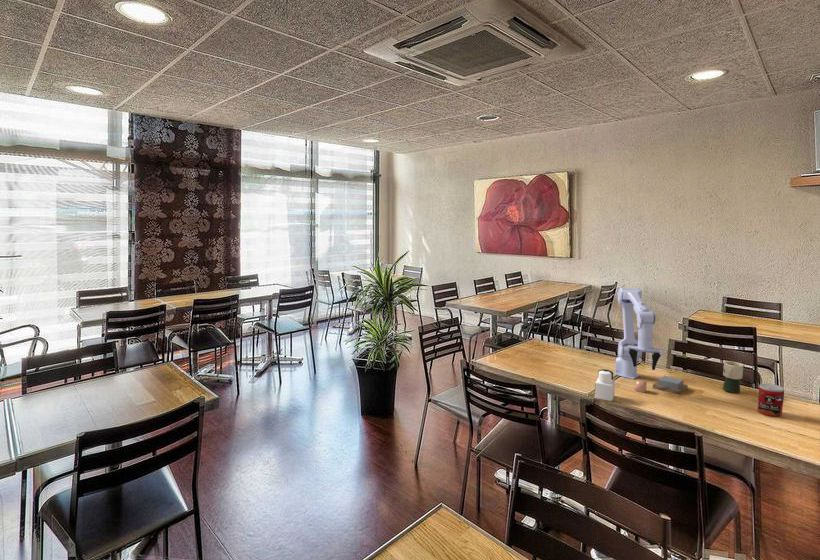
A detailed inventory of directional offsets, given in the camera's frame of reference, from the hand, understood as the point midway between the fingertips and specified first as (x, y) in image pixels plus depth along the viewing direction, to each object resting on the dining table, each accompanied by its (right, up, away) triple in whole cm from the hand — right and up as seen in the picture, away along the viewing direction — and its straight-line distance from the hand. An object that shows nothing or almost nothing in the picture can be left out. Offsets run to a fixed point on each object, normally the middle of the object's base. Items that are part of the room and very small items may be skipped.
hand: (644, 368), depth 198 cm
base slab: (+14, -11, +4) cm, 19 cm away
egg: (-1, -11, +2) cm, 11 cm away
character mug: (+40, -11, 0) cm, 41 cm away
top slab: (+14, -9, +4) cm, 17 cm away
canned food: (+38, -14, -23) cm, 46 cm away
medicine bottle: (-20, -12, -5) cm, 24 cm away
